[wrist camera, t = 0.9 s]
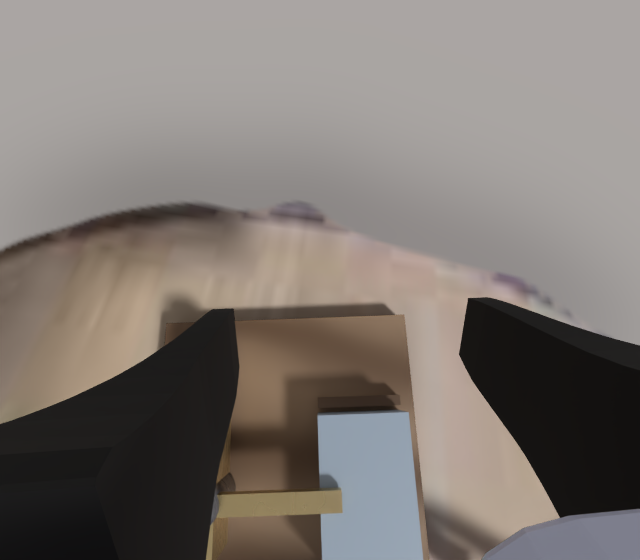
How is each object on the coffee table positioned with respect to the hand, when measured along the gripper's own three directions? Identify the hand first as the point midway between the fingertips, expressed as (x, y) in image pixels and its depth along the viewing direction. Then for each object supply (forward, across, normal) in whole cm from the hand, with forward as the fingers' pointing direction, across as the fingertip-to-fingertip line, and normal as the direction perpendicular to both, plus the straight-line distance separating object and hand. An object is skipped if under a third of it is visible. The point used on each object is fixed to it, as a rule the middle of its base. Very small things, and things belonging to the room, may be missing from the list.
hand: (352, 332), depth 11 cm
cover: (+6, -2, +14) cm, 15 cm away
